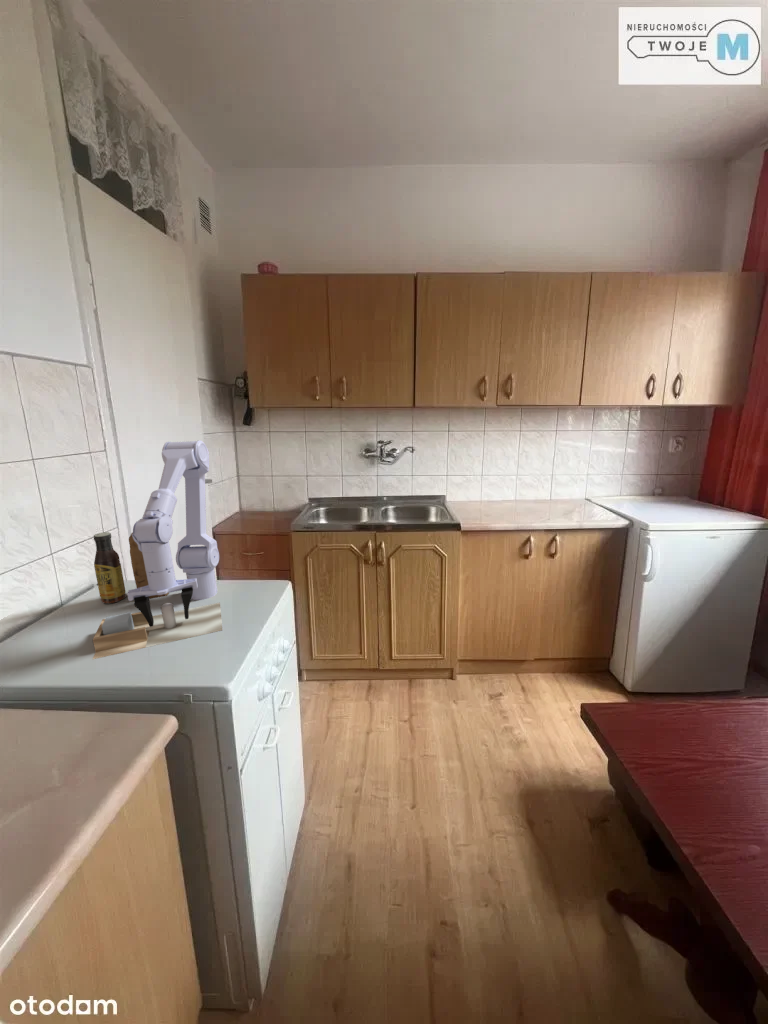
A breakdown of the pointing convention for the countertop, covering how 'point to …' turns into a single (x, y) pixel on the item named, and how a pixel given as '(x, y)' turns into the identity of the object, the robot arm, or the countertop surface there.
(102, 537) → the sauce bottle
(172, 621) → the block
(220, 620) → the shelf lane
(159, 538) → the robot arm
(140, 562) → the block
